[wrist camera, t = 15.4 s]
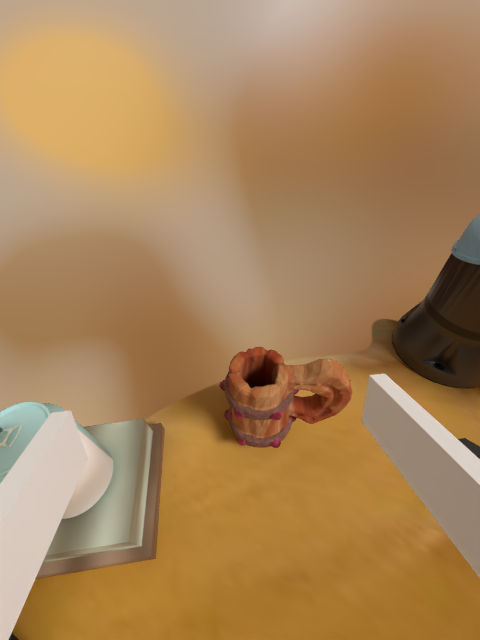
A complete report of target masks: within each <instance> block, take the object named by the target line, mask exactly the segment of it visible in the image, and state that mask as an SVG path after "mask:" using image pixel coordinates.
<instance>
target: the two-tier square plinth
mask: <svg viewBox="0 0 480 640" xmlns="http://www.w3.org/2000/svg"><path fill="white" fill-rule="evenodd" d="M83 428H84V429H86V430H87V431H88V432H89V433H90V434H91V435H92V436H93V437H94V438H95V439H97V440H98V441H99V442H100V443H101V444H102V445H103V446H104V447H105V448H106V449H108V451H109V452H110V454H111V456H112V459H113V474H112V478H111V481H110V483H109V485H108V487H107V489H106V491H105V492H104V494H103V495H102V497H101V498H100V499H99V500H98V501H97V502H96V503H95V504H94V505H93V506H92V507H91V508H90V509H88V510H87V511H85V512H84V513H82V514H80V515H78V516H75V517H72V518H66V519H61V522H60V524H59V526H58V528H57V531H56V533H55V535H54V537H53V540H52V542H51V544H50V547H49V549H48V551H47V553H46V556H45V558H44V560H43V563H42V565H41V567H40V569H39V572H38V574H37V576H36V578H35V579H38V578H44V577H50V576H56V575H62V574H68V573H74V572H80V571H86V570H91V569H97V568H103V567H109V566H115V565H121V564H127V563H133V562H139V561H145V560H151V559H156V547H157V532H158V517H159V503H160V488H161V473H162V459H163V444H164V428H163V426H162V424H161V423H159V424H152V425H148V424H147V422H146V421H145V419H137V420H130V421H123V422H116V423H109V424H102V425H94V426H87V427H83Z"/></svg>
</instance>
